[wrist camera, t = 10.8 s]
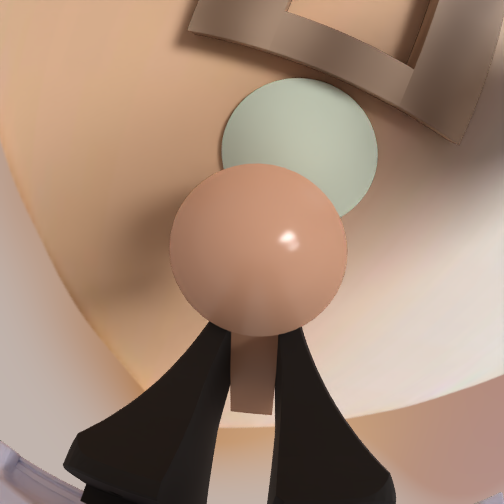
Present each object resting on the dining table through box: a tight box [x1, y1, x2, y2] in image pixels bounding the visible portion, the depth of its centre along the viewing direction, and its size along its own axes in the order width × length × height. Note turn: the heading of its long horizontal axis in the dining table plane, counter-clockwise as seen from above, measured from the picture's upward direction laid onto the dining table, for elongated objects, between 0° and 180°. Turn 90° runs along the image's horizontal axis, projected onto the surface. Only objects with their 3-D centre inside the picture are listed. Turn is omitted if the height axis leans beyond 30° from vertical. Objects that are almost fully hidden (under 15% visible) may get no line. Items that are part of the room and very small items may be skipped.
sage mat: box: [222, 78, 378, 217], centre depth 16 cm, size 9×9×1 cm
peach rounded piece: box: [169, 163, 347, 415], centre depth 12 cm, size 9×5×6 cm, turn 0°
